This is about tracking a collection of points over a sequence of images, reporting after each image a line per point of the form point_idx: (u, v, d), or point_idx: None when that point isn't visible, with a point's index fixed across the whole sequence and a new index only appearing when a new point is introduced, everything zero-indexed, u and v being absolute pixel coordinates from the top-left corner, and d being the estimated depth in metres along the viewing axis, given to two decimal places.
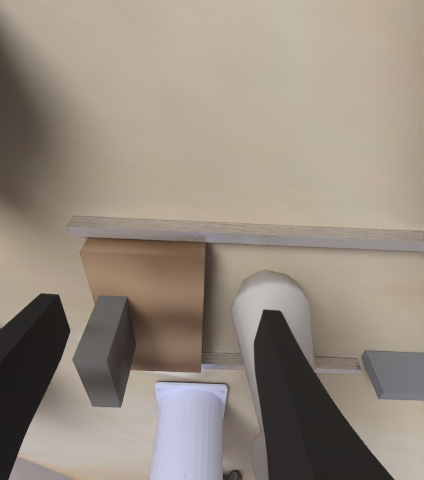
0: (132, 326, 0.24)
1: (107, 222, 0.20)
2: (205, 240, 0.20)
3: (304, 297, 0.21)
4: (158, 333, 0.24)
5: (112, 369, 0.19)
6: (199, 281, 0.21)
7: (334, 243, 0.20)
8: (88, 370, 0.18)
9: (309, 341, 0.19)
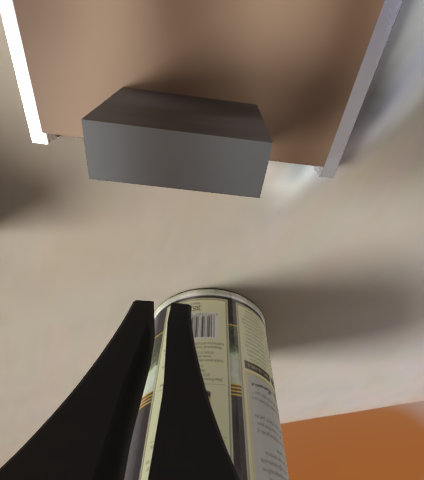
0: (197, 96, 0.13)
1: None
2: None
3: None
4: (226, 48, 0.12)
5: (137, 122, 0.10)
6: None
7: None
8: (121, 163, 0.10)
9: None
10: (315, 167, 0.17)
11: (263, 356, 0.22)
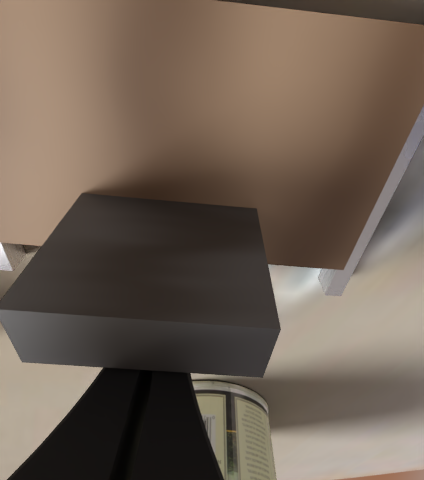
0: (179, 202, 0.10)
1: None
2: None
3: None
4: (213, 148, 0.09)
5: (81, 300, 0.07)
6: None
7: None
8: (63, 348, 0.07)
9: None
10: (320, 279, 0.15)
11: (265, 466, 0.19)
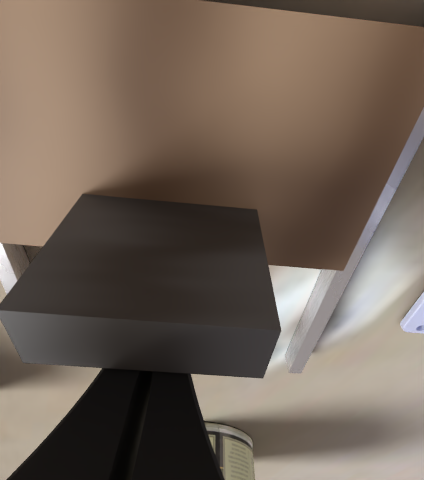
0: (179, 203, 0.10)
1: None
2: None
3: None
4: (214, 149, 0.09)
5: (82, 301, 0.07)
6: None
7: None
8: (64, 349, 0.07)
9: None
10: (286, 357, 0.20)
11: None
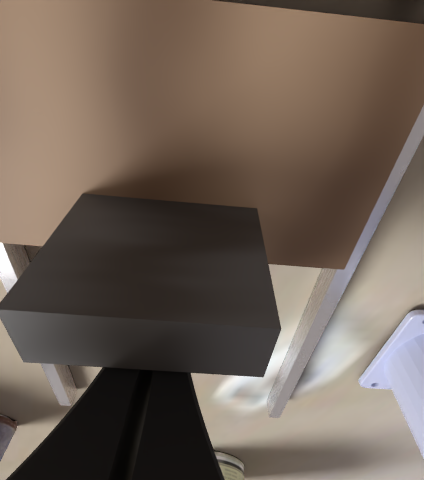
0: (179, 202, 0.10)
1: None
2: None
3: None
4: (214, 148, 0.09)
5: (82, 300, 0.07)
6: None
7: None
8: (64, 348, 0.07)
9: None
10: (267, 403, 0.23)
11: None
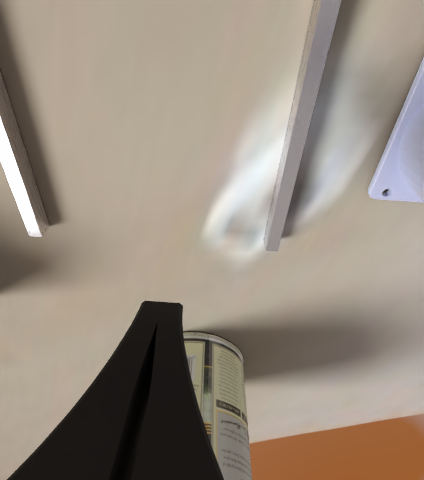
0: None
1: None
2: None
3: None
4: None
5: None
6: None
7: None
8: None
9: None
10: (264, 240, 0.21)
11: (235, 393, 0.25)
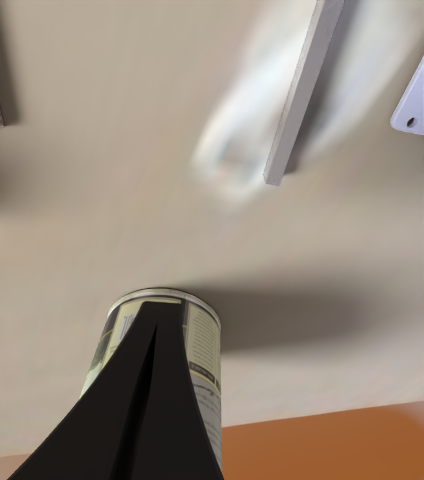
0: None
1: None
2: None
3: None
4: None
5: None
6: None
7: None
8: None
9: None
10: (264, 174, 0.18)
11: (210, 358, 0.22)
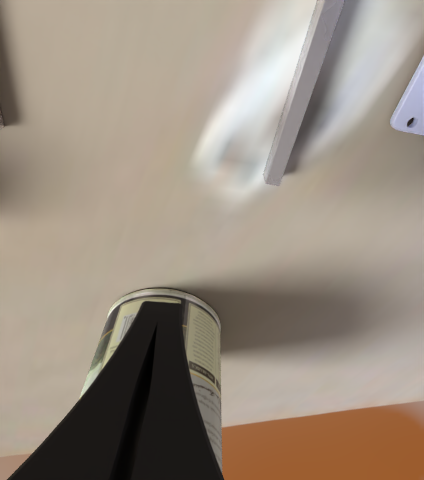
0: None
1: None
2: None
3: None
4: None
5: None
6: None
7: None
8: None
9: None
10: (264, 174, 0.18)
11: (210, 358, 0.22)
